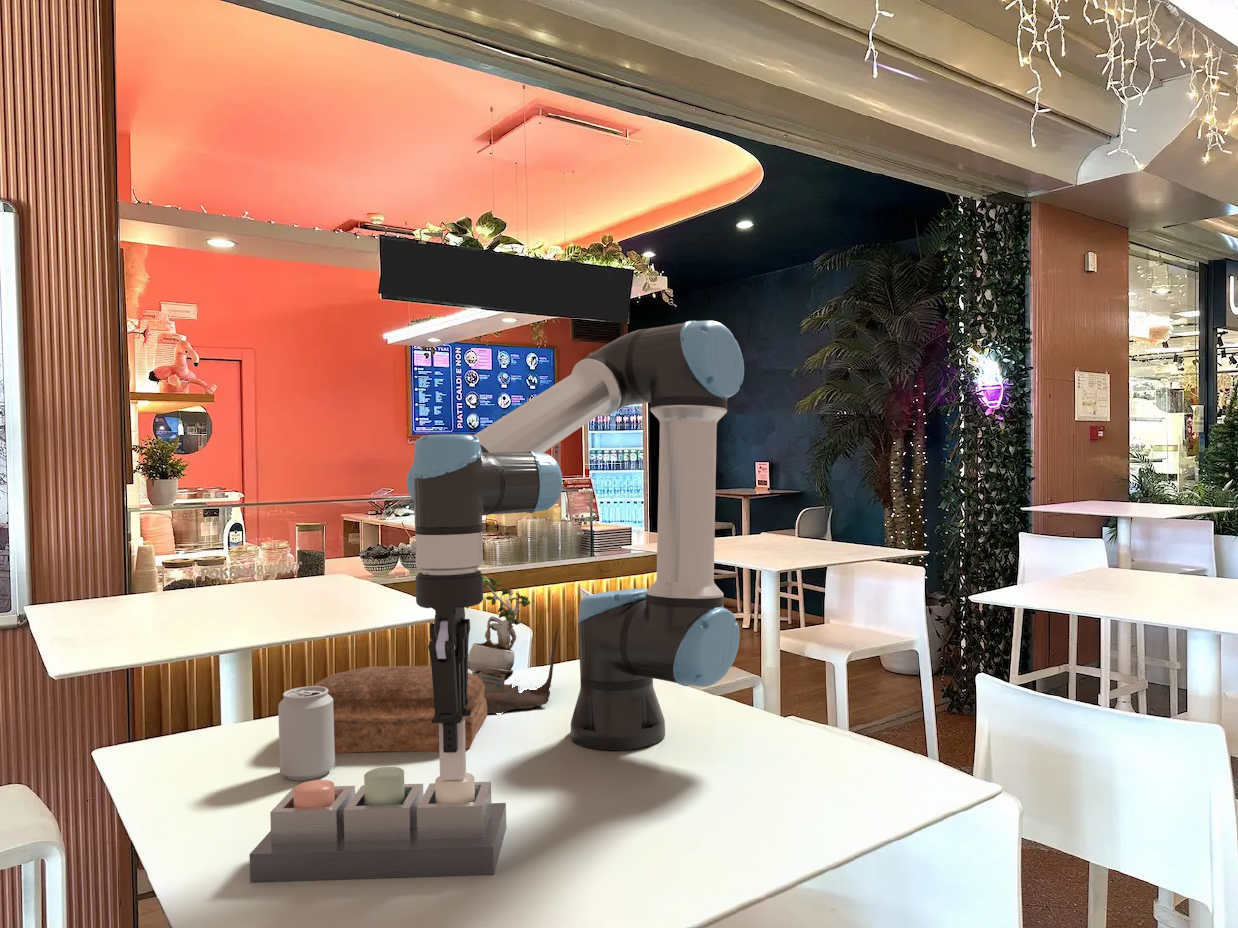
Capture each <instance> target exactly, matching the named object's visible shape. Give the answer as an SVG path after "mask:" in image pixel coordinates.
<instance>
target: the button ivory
mask: <svg viewBox="0 0 1238 928" xmlns="http://www.w3.org/2000/svg"><path fill="white" fill-rule="evenodd" d="M474 782H475V776H474V774H472V773H469V772H466V776H465V778H464V779H459V780H440V775H439V776H438V777H436V778H435V781H434V783H435V794H436V804H439V803H471V802H475V783H474Z"/></svg>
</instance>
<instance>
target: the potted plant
mask: <svg viewBox="0 0 1238 928" xmlns="http://www.w3.org/2000/svg"><path fill="white" fill-rule="evenodd" d="M501 585H502V582H499V581H498V580H497V579H494V578H490V577H488V576H485V575H483V589H486V588H487V589H488V590H490V592H491V593H492V596H490V595H489V596H486V597H485V599H486V600H487V601H490V600H491V605H492V606H494V605H496V602H497V601H496V600H498V601H499V602H500V606H499V608H498V610H497V613H499V614H498V617H496V616H490V617H489V618H488V620H487V625H486V626H487V627H486V631H485V633H484V637H485V639H486V641H484V642H481V643H478V642H475V643H472V646H471V648H470V650H469V651H468V670H469V671H471V674H473V675H476V676H477V677H478V678H480V679H481V680H482V681H483V683H484V686H485V691H484V696H485V698H486V701H487V714H493V715H496V713H502V712H505V713H507V712H508V711H512V710H517V709H533V708H534V707H538V706H543V705H547V704H548V703H549V701H550V700H549V698H550V694H551V691H550V688H551V686H552V685H551V684H552V679H553V670H554V661H555V653H556V646H557V645H556V644H557V639H558V632H559V627H557V628H556V630H555V634H554V637H553V642H552V650H551V658H550V665H549V671H548V677H547V680H546V682H544V684H543V685H541V686H542V687H540V686H539V687H540V688H538V689H537V690H529V689H527V690H524V691H523V692H522V693H519V692H518V686H519V685H518V686H517V685H514V686H515V687H513V688H512V685H513V684H512V683H510V684H506V683H505V681H507V680H508V679H509V678H510V677H512V676H513V674H514V670H513V669H512V668H513V667H514V664H515V650H512V648H513V647H514V644H515V642H516V640H517V634H516V630H515V629H514V626H513V625H515V626H517V625H520V624H521V623H522V620H520V619H519V617H517V618H516V616H517V614H518V612H520V610H521V609H519V605H520V604H521V606H522V607H523V608H524V607H527V606H528V605H531V601H530V600H529V597H527V596H525V595H524V596H523V595H521V594H519V593H517V592H515V594H516V595H517V597H518V598H516V597H512V596H513V594H514V592H513V591H512V589H509V588H508V587H507V588H505V587H503V588H501V589H500V591H501V596H502V597H503V596H504V595H508V597H507V599H506V600H505V601H504V600H502V599H501V597H499V596H498V595H497V593H496V590H497V586H499V587H500V586H501ZM511 597H512V598H511ZM514 600H515V602H516V603H515V606H514V608H513V607H512V606H511V604H512V603H513V601H514ZM505 607H506V608H505ZM503 617H505V620H501V618H503ZM491 622H493V623H491ZM491 630H493V631H495V632H496V635H497V642H493V641H492V640H491V636H492V635H491ZM511 637H512V638H511Z"/></svg>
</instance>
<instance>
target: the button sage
mask: <svg viewBox="0 0 1238 928" xmlns="http://www.w3.org/2000/svg"><path fill="white" fill-rule="evenodd" d="M363 779H364V780H363V783H364V784H363V785H364V790H365V806H373V805H402V804H403V803H404V801H405V787H404V784H405V770H404V769H403V768H402V767H398V766H383V767H377V768H374V769H371V770H368V771H367V772H365V773H364V775H363Z"/></svg>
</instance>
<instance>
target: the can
mask: <svg viewBox="0 0 1238 928" xmlns="http://www.w3.org/2000/svg"><path fill="white" fill-rule="evenodd" d="M327 692H328V689H327V688H326V687H321V686H314V685H310V686H300V687H295V688H291V689H289V690H286V691H284V692H283V693H282V696H283V699H282V700H281V701H280V702H279V703H278V706H277V707H278V708H277V710H278V711H277V712H278V714H277V715H278V745H279V746H278V747H279V772H280V774H282V775H283V776H284V777H285V778H286V779H288V780H290V781H295V782H298V781H312V780H317V779H319V778H321V777H324V776H326V775H327V774H328V773H329V772H330V770H331V769H333V768H334V767H335V764H336V753H335V748H334V711H333V698H332V697H331V696H330V695H329V694H328V693H327Z"/></svg>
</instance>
